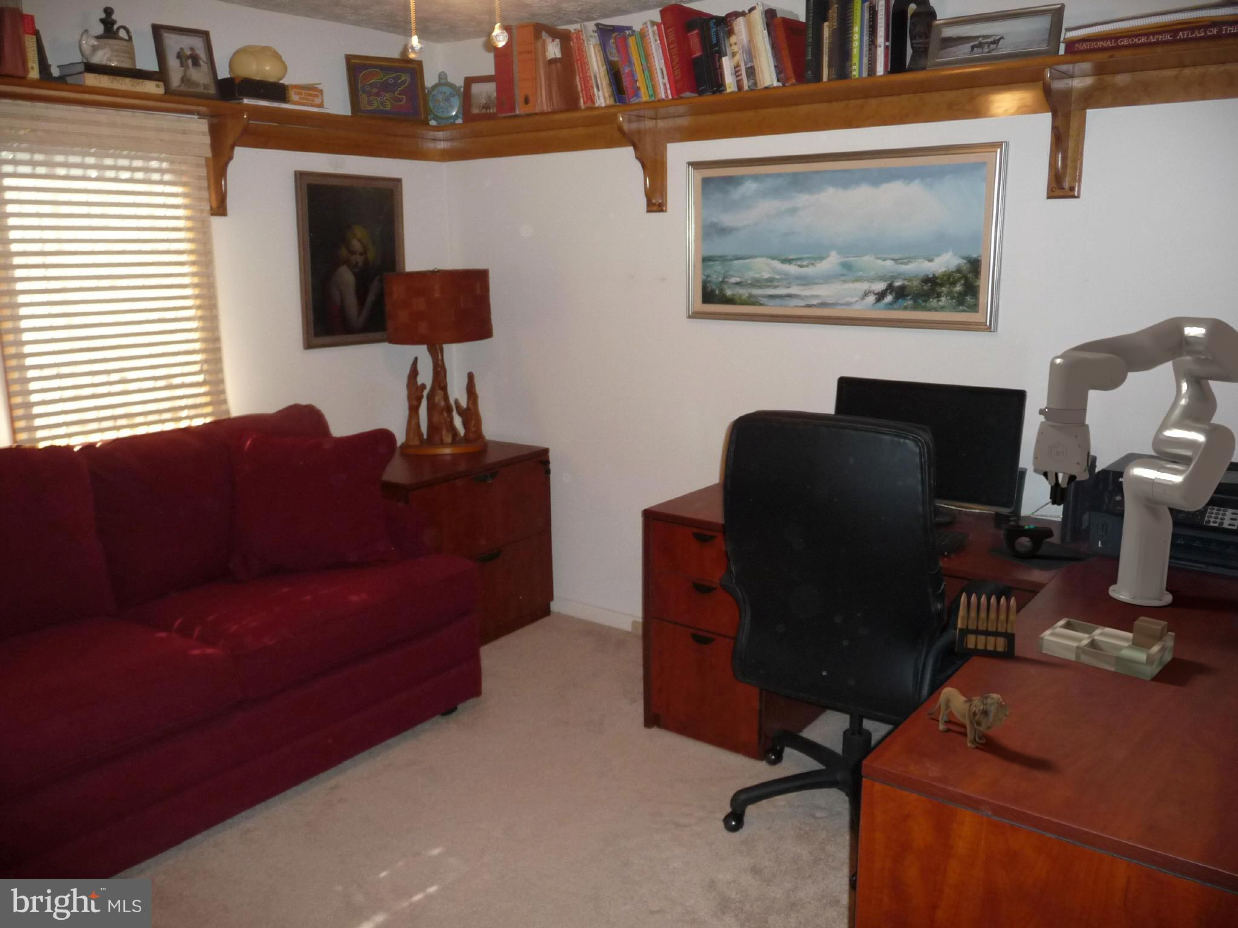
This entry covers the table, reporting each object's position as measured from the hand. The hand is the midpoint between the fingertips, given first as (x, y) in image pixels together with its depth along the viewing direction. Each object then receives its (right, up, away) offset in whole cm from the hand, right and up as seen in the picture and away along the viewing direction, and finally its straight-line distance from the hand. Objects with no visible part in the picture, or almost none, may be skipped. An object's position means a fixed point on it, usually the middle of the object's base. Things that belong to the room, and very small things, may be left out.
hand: (1057, 504), depth 200 cm
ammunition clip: (-20, -29, -13) cm, 37 cm away
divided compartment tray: (+3, -28, -14) cm, 32 cm away
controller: (+14, -16, +49) cm, 53 cm away
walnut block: (+9, -26, -17) cm, 32 cm away
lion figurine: (-35, -35, -45) cm, 67 cm away
